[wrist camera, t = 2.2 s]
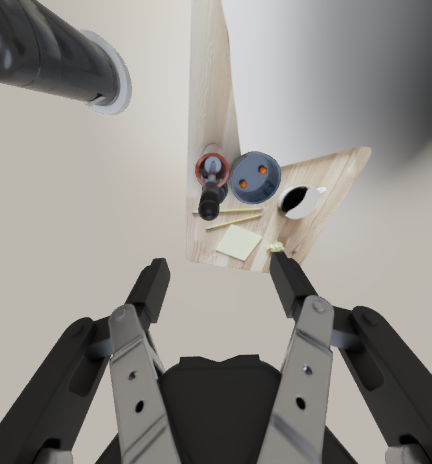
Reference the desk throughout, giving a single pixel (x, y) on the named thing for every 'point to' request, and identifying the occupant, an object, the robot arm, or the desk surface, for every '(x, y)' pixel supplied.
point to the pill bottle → (222, 192)
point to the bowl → (255, 177)
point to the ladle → (210, 191)
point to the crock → (200, 170)
